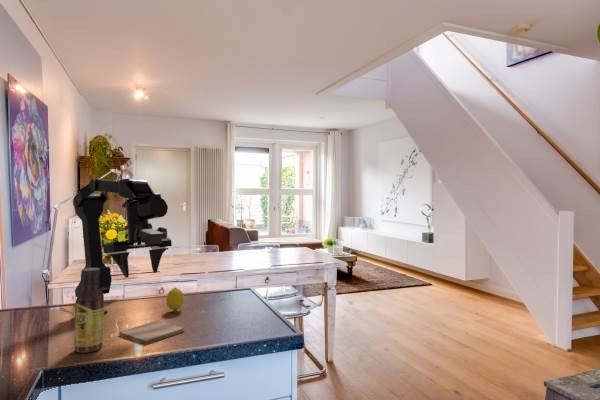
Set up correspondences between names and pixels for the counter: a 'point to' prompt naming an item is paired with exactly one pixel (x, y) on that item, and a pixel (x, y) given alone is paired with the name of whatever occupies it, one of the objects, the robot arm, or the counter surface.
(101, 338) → the sauce bottle
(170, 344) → the counter surface
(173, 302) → the lemon
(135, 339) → the walnut board
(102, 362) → the counter surface
